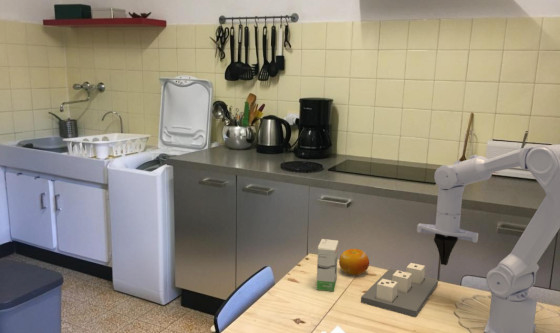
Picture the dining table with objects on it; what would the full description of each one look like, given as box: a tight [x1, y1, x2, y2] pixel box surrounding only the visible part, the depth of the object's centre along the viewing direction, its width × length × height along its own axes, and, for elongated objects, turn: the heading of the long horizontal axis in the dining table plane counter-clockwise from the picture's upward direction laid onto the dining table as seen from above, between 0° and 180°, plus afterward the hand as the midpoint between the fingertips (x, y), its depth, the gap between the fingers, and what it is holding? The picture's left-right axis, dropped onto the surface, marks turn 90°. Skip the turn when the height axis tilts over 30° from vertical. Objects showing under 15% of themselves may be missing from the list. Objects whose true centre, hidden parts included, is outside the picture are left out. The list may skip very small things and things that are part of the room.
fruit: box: [338, 248, 370, 276], centre depth 139 cm, size 8×9×8 cm
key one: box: [405, 262, 426, 284], centre depth 131 cm, size 4×4×5 cm
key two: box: [392, 269, 412, 293], centre depth 126 cm, size 4×4×5 cm
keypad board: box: [360, 268, 439, 318], centre depth 126 cm, size 14×22×2 cm, turn 149°
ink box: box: [316, 238, 339, 292], centre depth 130 cm, size 9×5×12 cm, turn 168°
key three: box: [376, 279, 398, 303], centre depth 120 cm, size 4×4×5 cm
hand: (444, 263), depth 121 cm, fingers closed
